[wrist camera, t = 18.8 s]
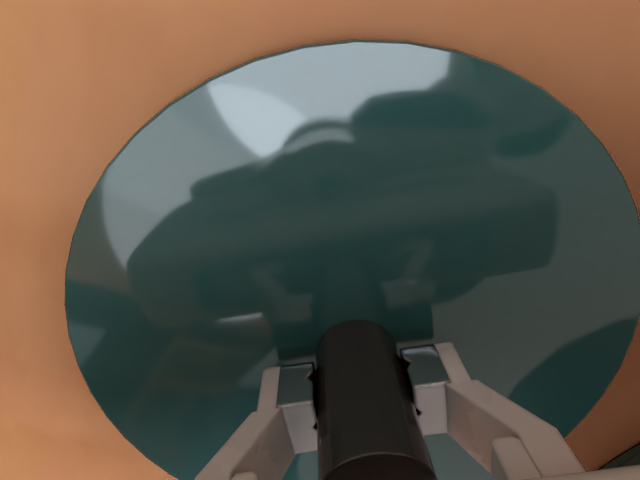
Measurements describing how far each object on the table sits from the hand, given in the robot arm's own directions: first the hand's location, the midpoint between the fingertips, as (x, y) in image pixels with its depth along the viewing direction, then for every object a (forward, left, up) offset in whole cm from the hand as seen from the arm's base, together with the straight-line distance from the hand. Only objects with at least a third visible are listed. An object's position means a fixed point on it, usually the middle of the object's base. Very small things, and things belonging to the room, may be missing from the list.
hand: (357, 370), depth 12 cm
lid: (0, 0, -1) cm, 1 cm away
